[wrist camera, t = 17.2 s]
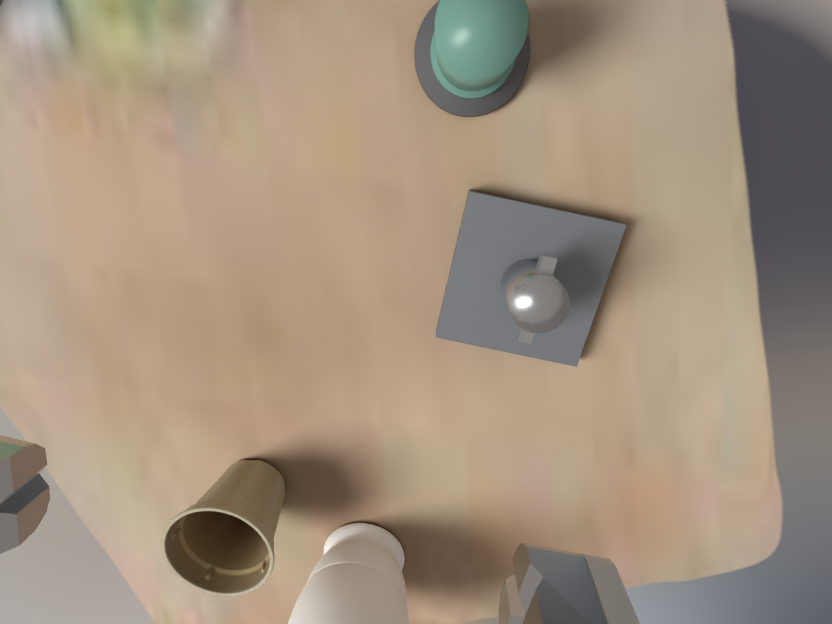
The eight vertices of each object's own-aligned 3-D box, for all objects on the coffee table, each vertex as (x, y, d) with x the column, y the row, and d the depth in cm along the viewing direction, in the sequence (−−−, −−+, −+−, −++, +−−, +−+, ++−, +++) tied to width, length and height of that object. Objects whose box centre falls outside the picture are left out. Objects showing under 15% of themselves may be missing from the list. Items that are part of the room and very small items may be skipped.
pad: (405, 104, 34) (404, 103, 34) (427, -22, 32) (427, -25, 31) (511, 127, 34) (512, 126, 34) (542, 3, 32) (544, 1, 31)
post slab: (436, 330, 40) (435, 337, 39) (468, 189, 36) (469, 191, 35) (571, 359, 40) (576, 366, 39) (619, 221, 36) (626, 224, 35)
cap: (423, 90, 33) (417, 72, 26) (440, -3, 31) (439, -51, 24) (502, 106, 33) (519, 94, 26) (524, 15, 31) (549, -28, 24)
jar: (295, 551, 49) (235, 713, 35) (357, 494, 46) (319, 646, 32) (371, 605, 51) (343, 779, 37) (435, 554, 48) (432, 722, 34)
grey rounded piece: (491, 316, 38) (499, 342, 33) (512, 239, 36) (524, 254, 30) (539, 326, 38) (554, 354, 33) (563, 249, 36) (583, 266, 30)
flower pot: (313, 461, 45) (285, 530, 37) (290, 532, 48) (259, 609, 40) (220, 431, 45) (170, 493, 36) (202, 504, 48) (153, 577, 40)
